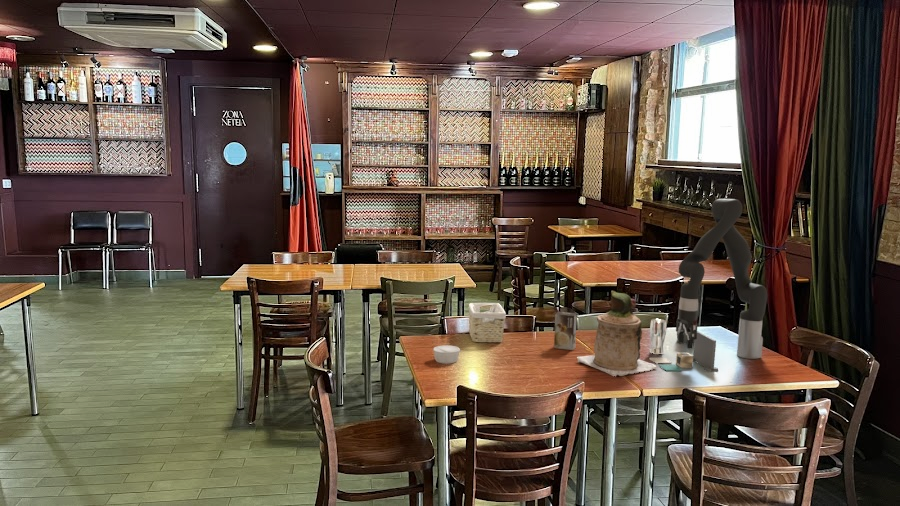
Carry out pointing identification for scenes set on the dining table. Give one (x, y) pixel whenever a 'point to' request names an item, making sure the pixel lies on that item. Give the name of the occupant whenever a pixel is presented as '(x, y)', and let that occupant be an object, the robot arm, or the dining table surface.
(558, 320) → the coffee box
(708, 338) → the screen
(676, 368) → the pad
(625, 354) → the cookie jar
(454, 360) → the ramekin
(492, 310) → the storage basket
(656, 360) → the pad
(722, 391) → the dining table surface
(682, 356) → the beige cube
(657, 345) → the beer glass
